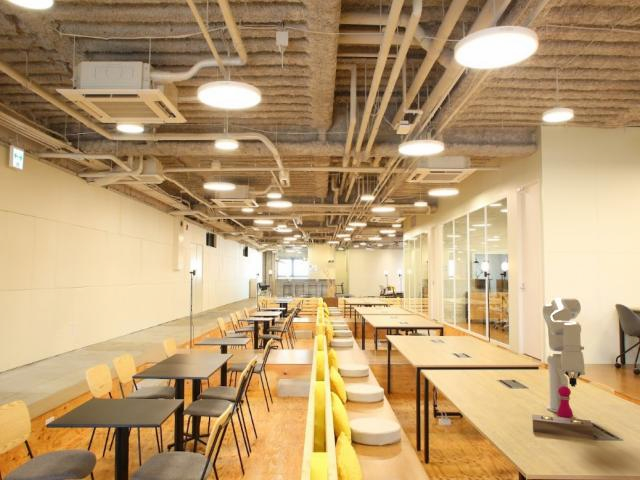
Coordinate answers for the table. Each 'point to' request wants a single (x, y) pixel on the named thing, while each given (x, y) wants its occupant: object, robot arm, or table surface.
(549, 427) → the collar block
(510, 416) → the table surface
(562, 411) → the pepper mill
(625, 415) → the table surface
